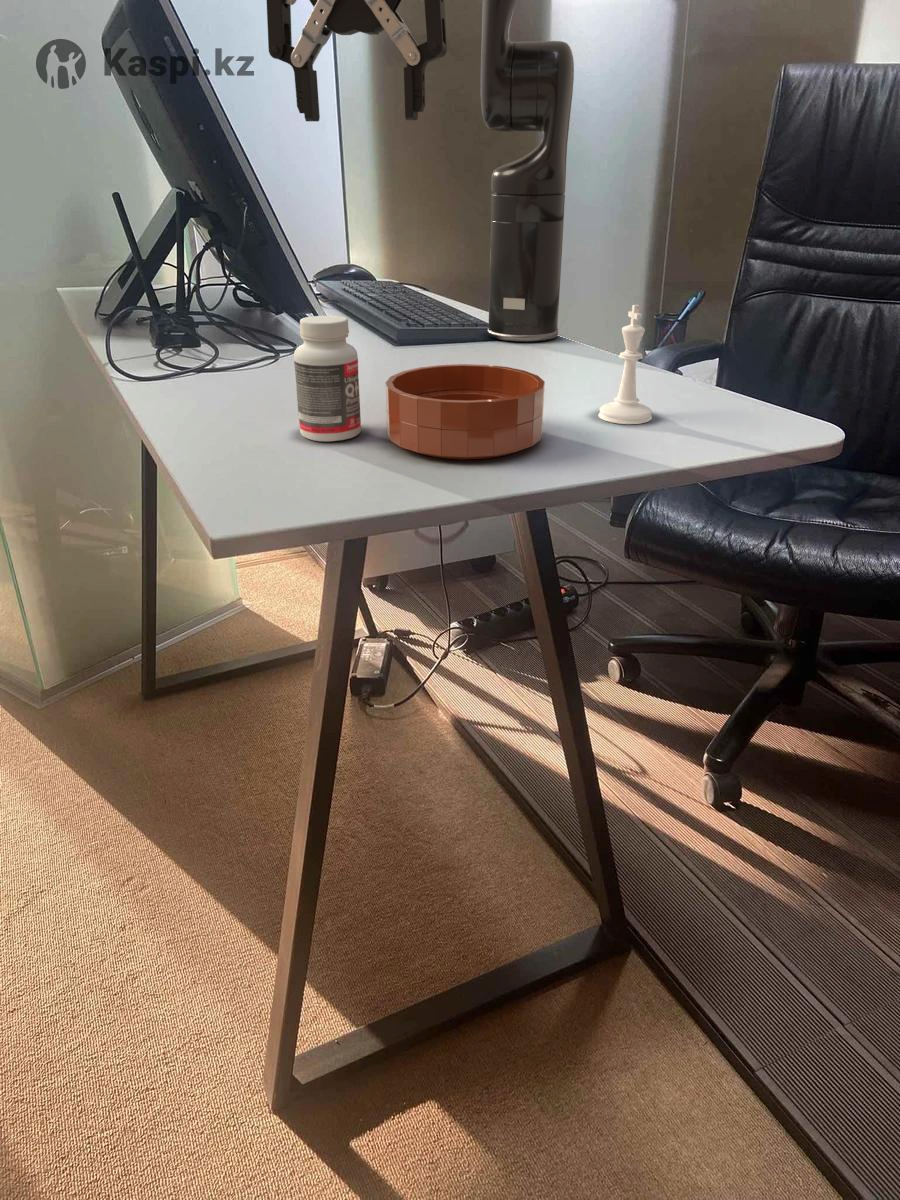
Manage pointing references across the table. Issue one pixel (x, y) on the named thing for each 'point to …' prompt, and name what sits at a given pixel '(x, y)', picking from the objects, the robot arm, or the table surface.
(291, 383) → the table surface
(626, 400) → the chess piece
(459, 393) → the bowl
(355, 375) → the pill bottle
